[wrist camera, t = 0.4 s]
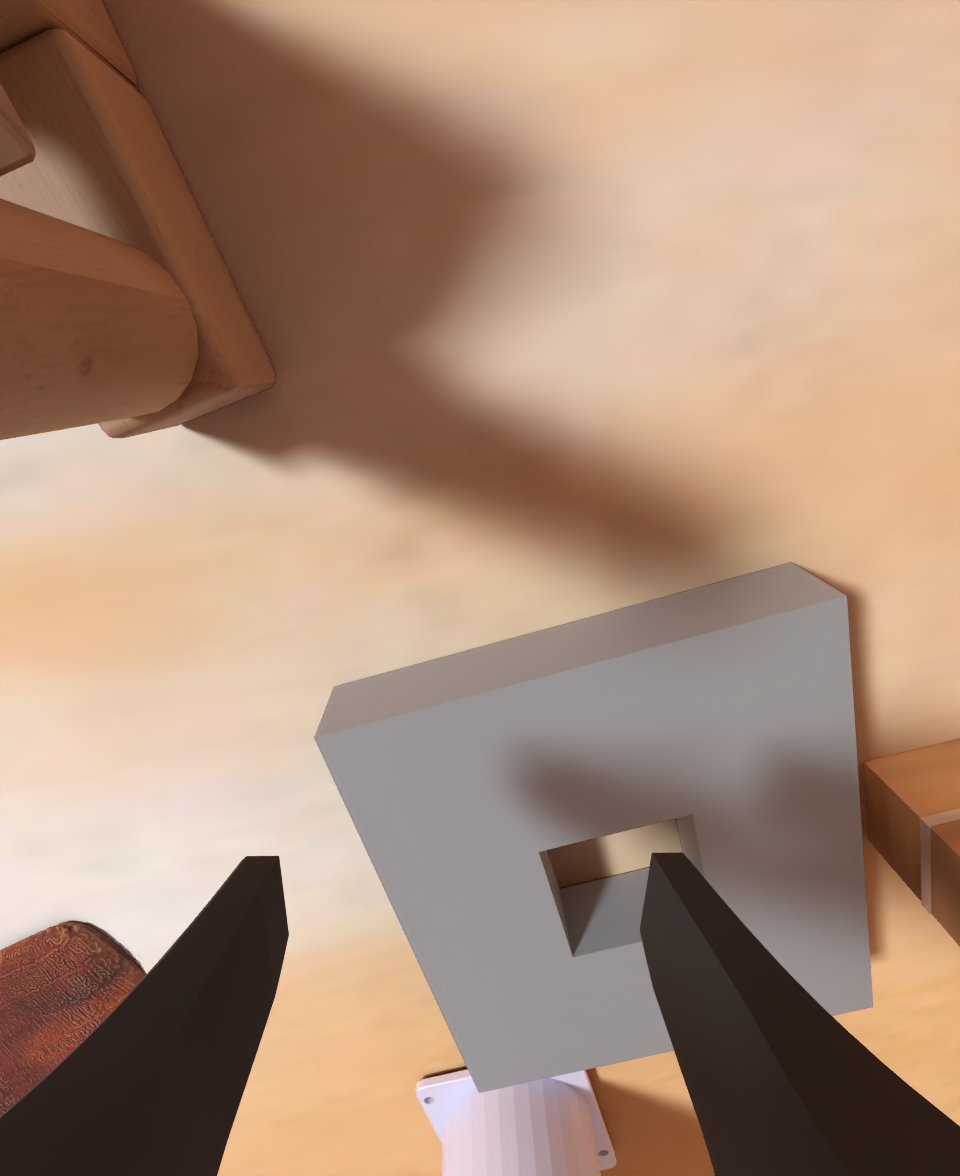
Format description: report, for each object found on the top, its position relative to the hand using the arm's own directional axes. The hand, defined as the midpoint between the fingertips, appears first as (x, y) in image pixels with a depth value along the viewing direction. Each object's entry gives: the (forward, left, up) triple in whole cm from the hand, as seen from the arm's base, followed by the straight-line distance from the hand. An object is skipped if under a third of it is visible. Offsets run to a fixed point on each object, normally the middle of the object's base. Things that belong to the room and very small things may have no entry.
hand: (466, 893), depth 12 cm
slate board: (-9, -3, -10) cm, 13 cm away
